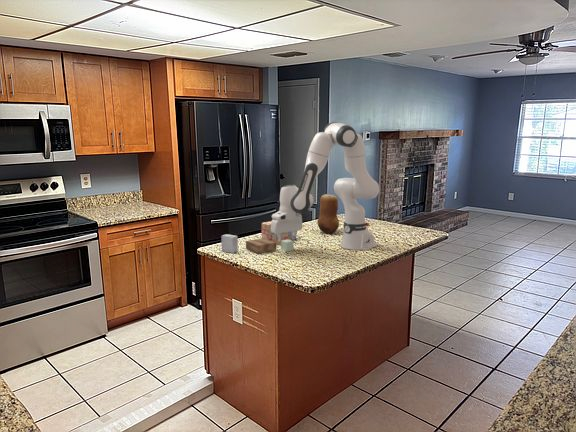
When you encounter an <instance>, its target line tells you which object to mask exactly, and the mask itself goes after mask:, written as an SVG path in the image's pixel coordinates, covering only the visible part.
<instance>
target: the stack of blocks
mask: <svg viewBox="0 0 576 432" xmlns="http://www.w3.org/2000/svg"><path fill="white" fill-rule="evenodd" d="M291 235H293V231H291V232H284V233H281V235H280V236H281V238H282V240H291V241H296V240H297V234H296V235H295V239H292V238H291ZM261 238H266V239H268V240H271V241H274V242H276V245H277V244H281V241H278V236H277V234H274V233H272V232H271V221H266V222H265V221H264V222H261Z"/></svg>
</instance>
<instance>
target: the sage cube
mask: <svg viewBox="0 0 576 432" xmlns="http://www.w3.org/2000/svg"><path fill="white" fill-rule="evenodd" d="M294 242H295V240H282V241H281V243H280V250H281V251H284V252H290V251H294V250H295V249H294V245H295V243H294Z"/></svg>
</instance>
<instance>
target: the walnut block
mask: <svg viewBox="0 0 576 432" xmlns="http://www.w3.org/2000/svg"><path fill="white" fill-rule="evenodd" d="M245 250H247V251H249V252H252V253H253V254H256V255H261V254H267V253H272V252H276V251H277V244H276V242H274V241H271V240H268V239H266V238H262V237H260V238H255V239H250V240H245Z"/></svg>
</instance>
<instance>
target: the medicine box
mask: <svg viewBox="0 0 576 432" xmlns="http://www.w3.org/2000/svg"><path fill="white" fill-rule="evenodd" d="M238 238H239V237H238V235H233V234H223V235H221V239H220V240H221V251H222V252H226V253H232V254H234V253H237V252H238V251H239V242H238V240H239V239H238Z"/></svg>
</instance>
